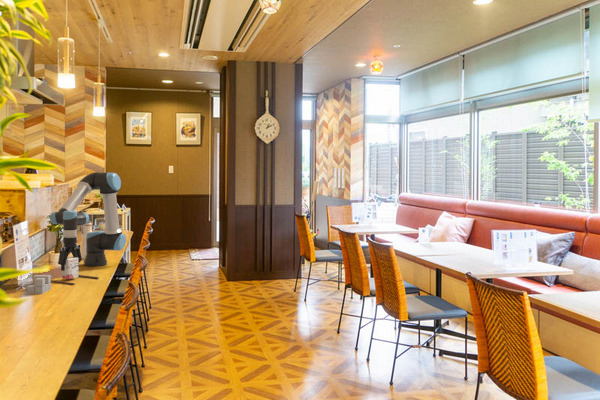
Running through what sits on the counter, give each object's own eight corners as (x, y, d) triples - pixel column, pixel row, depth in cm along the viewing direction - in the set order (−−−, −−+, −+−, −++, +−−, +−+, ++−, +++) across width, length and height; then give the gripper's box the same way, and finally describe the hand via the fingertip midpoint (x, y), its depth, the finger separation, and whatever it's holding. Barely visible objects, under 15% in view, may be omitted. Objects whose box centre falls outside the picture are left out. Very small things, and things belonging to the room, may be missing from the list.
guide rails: (67, 275, 329) (67, 273, 328) (98, 278, 319) (98, 277, 319) (40, 280, 310) (40, 279, 310) (73, 285, 301) (73, 283, 301)
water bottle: (88, 260, 382) (88, 221, 381) (77, 259, 384) (77, 221, 383) (96, 258, 392) (96, 220, 391) (85, 257, 394) (85, 220, 393)
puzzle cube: (28, 289, 289) (28, 274, 289) (51, 289, 290) (50, 274, 290) (18, 294, 277) (18, 279, 277) (42, 294, 278) (42, 279, 278)
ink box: (68, 279, 310) (68, 259, 309) (61, 278, 311) (61, 258, 311) (78, 276, 318) (78, 257, 317) (72, 276, 320) (72, 256, 319)
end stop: (66, 274, 329) (66, 265, 328) (69, 275, 328) (69, 265, 328) (40, 280, 310) (39, 270, 310) (42, 281, 309) (42, 271, 309)
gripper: (78, 234, 325) (79, 270, 326) (50, 238, 305) (51, 277, 306) (88, 235, 322) (88, 271, 323) (60, 239, 302) (60, 278, 303)
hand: (70, 274), depth 315 cm, fingers closed on ink box, 9 cm apart
